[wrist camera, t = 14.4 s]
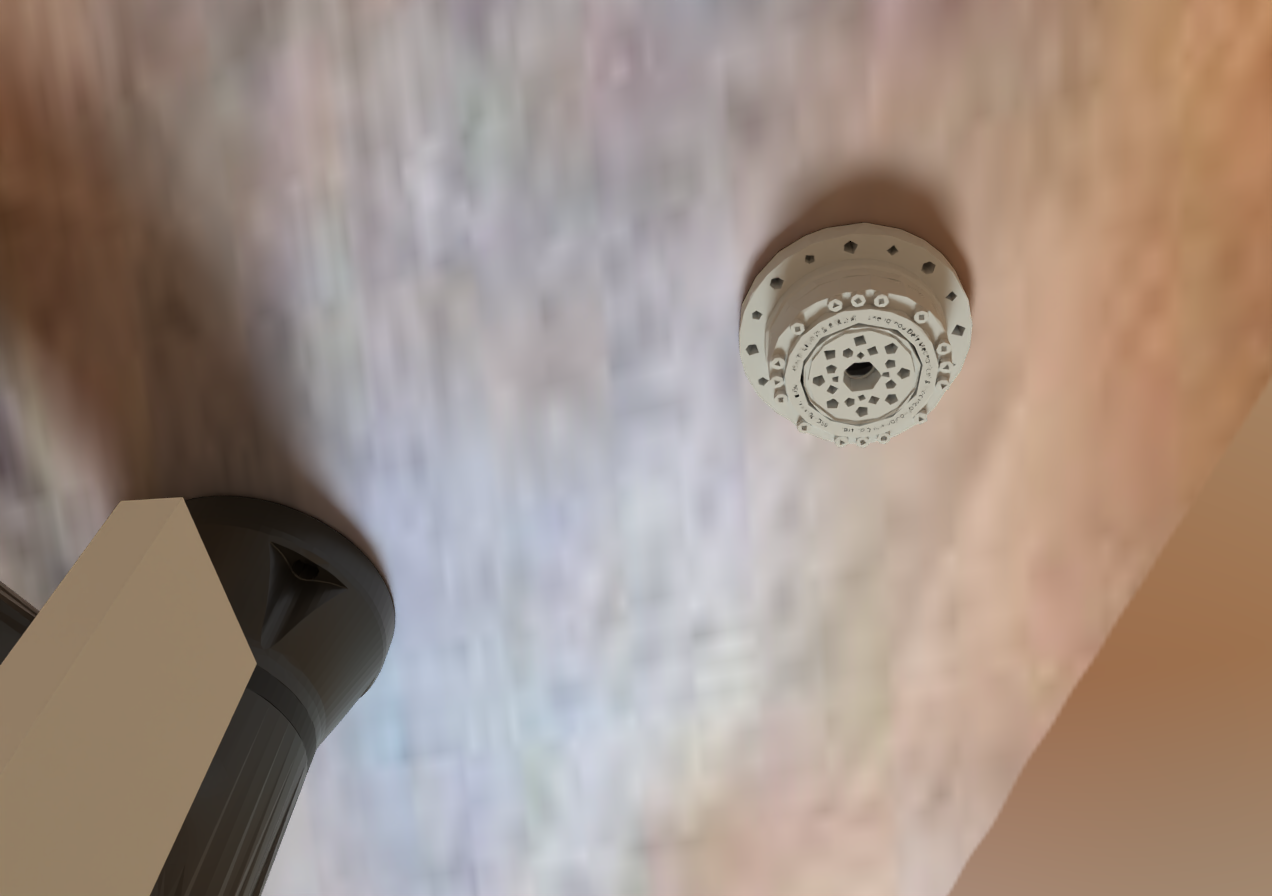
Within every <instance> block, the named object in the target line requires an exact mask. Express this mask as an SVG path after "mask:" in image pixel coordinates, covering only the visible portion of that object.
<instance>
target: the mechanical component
mask: <svg viewBox="0 0 1272 896" xmlns="http://www.w3.org/2000/svg"><path fill="white" fill-rule="evenodd" d="M849 241H852V242H851V243H849ZM776 277H778V278H776ZM971 333H972V319H971V313H970V307H969V300H968V297H967V295H966V293H965V291H964V289H963V286H962V284H961V282H960V280H959V278H958V276H957V273H956V271H955V270H954V268H953V267H952V266H951V265H950V263H949V262H948V261H947V259H946V258H945V257H944V256H943V254H942V253H940V252H939V251H938V250H937V249H935V248H934V247H933V246H931V245H930V244H929V243H928V242H926V241H925V240H924V239H921V238H919V237H917V236H915V235H913V234H910V233H908V232H906V231H904V230H902V229H897V228H892V227H886V226H881V225H876V224H870V223H858V224H851V225H844V226H837V227H830V228H825V229H822V230H820V231H817V232H814V233H811V234H809V235H806V236H804V237H802V238H801V239H799V240H797V241H796V242H794V243H792V244H791V245H789V246H788V247H786V248H784V249H783V250H781V251H780V252H778V253H777V254H776V255H775V256H774V258H773V259H772V260H771V261H770V262H769V263H768V264H767V265H766V266H765V267H764V269H763V270H762V271H761V272H760V273H759V274H758V275H757V276H756V278H755V280H754V282H753V284H752V286H751V288H750V290H749V292H748V294H747V296H746V297H745V299H744V301H743V303H742V308H741V318H740V329H739V349H740V357H741V360H742V364H743V367H744V371H745V374H746V376H747V378H748V380H749V381H750V383H751V385H752V386H753V388H754V390H755V391H756V393H757V395H758V396H759V397H760V398H761V399H762V400H763V401H764V402H765V403H766V404H767V405H768V406H770V407H771V408H772V409H773V410H774V411H775V412H776V413H778V414H779V415H781V416H783V417H785V418H786V419H788V420H790V421H791V422H792V423H793V424H795V425H796V426H797V429H798V431H799V432H801V433H808V434H811V435H813V436H816V437H818V438H821V439H823V440H827V441H832V442H835V444H836V445H837V446H838V447H845V446H846V445H848V444H856V445H857V446H858V447H863V448H865V447H866V446H867V445H869V443H871V442H875V441H878V442H879V443H882V444H886V443H887V442H889V441H890V438H891V437H895V436H897V435H899V434H900V433H902V432H904V431H906V430H908V429H909V428H911V427H913V426H915V425H916V424H922V423H924V422H926V421H927V415H928V414H929V413H930V412H931V411H932V410H933V409H934V408H935V407H936V405H937V404H938V402H939V400H940V399H941V397H942V396H943V394H944V392H945V391H946V390H948V389H949V387H950V385H951V383H952V382H953V381H954V379H955V378H956V377H957V375H958V374H959V373H960V371H961V369H962V366H963V363H964V361H965V358H966V355H967V353H968V350H969V348H970V341H971ZM859 362H862V363H859Z"/></svg>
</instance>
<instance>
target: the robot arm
mask: <svg viewBox="0 0 1272 896" xmlns="http://www.w3.org/2000/svg"><path fill="white" fill-rule="evenodd" d="M394 628H395V614H394V607H393V603H392V599H391V597H390V594H389V591H388V589H387V587H386V585H385V583H384V581H383V579H382V577H381V576H380V574H379V573H378V571H377V570H376V569H375V567H374V566H373V565H372V563H371V562H370V561H369V560H368V559H367V557H366V556H365V555H364V554H363V553H362V552H361V551H360V550H359V549H358V548H357V547H355V546H354V545H353V544H352V543H351V542H350V541H348V540H347V539H346V538H345V537H343V536H342V535H340V534H339V533H338V532H336V531H335V530H333V529H332V528H330V527H328V526H327V525H325V524H323V523H322V522H320V521H318V520H316V519H314V518H312V517H310V516H308V515H306V514H304V513H301V512H299V511H296V510H294V509H291V508H288V507H285V506H282V505H279V504H276V503H272V502H268V501H264V500H258V499H253V498H246V497H235V496H212V497H202V498H196V499H191V500H187V501H184V499H183V497H177V498H161V499H145V500H129V501H120V503H119V504H118V505H117V507H116V508H115V509H114V511H113V512H112V513H111V515H110V516H109V518H108V519H107V520H106V522H105V523H104V524H103V526H102V527H101V528H100V530H99V531H98V533H97V534H96V535H95V537H94V538H93V539H92V541H91V542H90V544H89V545H88V546H87V548H86V549H85V550H84V552H83V553H82V554H81V556H80V557H79V559H78V560H77V561H76V563H75V564H74V565H73V567H72V568H71V569H70V571H69V572H68V574H67V575H66V576H65V578H64V579H63V580H62V582H61V583H60V585H59V586H58V587H57V589H56V590H55V591H54V593H53V594H52V595H51V597H50V598H49V600H48V601H47V602H46V604H45V605H44V606H43V608H42V609H41V610H40V611H39V610H37V609H36V608H35V607H33V606H32V605H31V604H30V603H28V602H27V601H26V600H24V599H23V598H22V597H20V596H19V595H18V594H16V593H15V592H14V591H13V590H11V589H10V588H9V587H7V586H6V585H5V584H3V583H2V582H1V581H0V896H261V894H262V892H263V889H264V886H265V884H266V881H267V878H268V876H269V873H270V870H271V868H272V865H273V863H274V860H275V857H276V855H277V852H278V849H279V847H280V844H281V841H282V839H283V836H284V833H285V831H286V828H287V825H288V823H289V820H290V817H291V815H292V812H293V810H294V807H295V804H296V802H297V799H298V796H299V794H300V791H301V788H302V786H303V783H304V780H305V778H306V775H307V772H308V770H309V767H310V764H311V762H312V759H313V757H314V754H315V752H316V750H317V748H318V747H319V745H320V744H321V743H322V742H323V741H324V740H325V738H326V737H327V736H328V735H329V734H330V733H331V732H332V730H333V729H334V728H335V727H336V726H337V725H338V723H339V722H340V721H341V720H342V719H343V718H344V716H345V715H346V714H347V713H348V712H349V710H350V709H351V708H352V707H353V705H354V704H355V703H356V702H357V700H358V699H359V698H360V697H362V696H363V695H364V694H365V693H366V692H367V691H368V690H369V689H370V687H371V686H372V685H373V683H374V682H375V680H376V678H377V677H378V675H379V673H380V671H381V669H382V667H383V664H384V661H385V658H386V656H387V653H388V650H389V647H390V644H391V641H392V638H393V634H394Z"/></svg>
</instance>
